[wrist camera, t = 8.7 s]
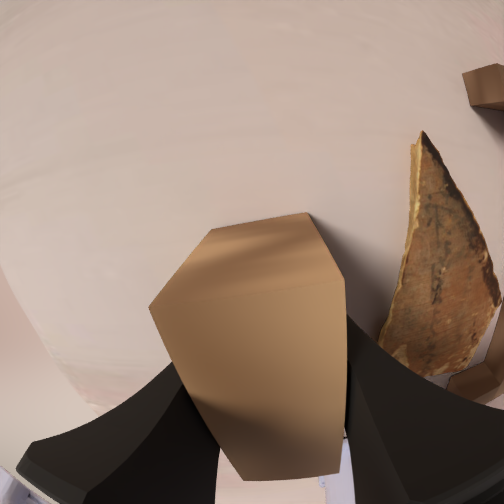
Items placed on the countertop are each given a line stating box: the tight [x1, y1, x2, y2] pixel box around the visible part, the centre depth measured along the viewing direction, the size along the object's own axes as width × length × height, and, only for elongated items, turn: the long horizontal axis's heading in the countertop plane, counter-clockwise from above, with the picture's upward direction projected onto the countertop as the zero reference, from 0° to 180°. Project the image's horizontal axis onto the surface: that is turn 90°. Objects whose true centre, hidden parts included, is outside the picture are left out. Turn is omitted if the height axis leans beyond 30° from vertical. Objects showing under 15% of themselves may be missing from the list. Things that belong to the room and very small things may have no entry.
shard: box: [377, 130, 502, 377], centre depth 9 cm, size 11×8×2 cm
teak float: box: [148, 212, 347, 481], centre depth 8 cm, size 4×8×6 cm, turn 12°
